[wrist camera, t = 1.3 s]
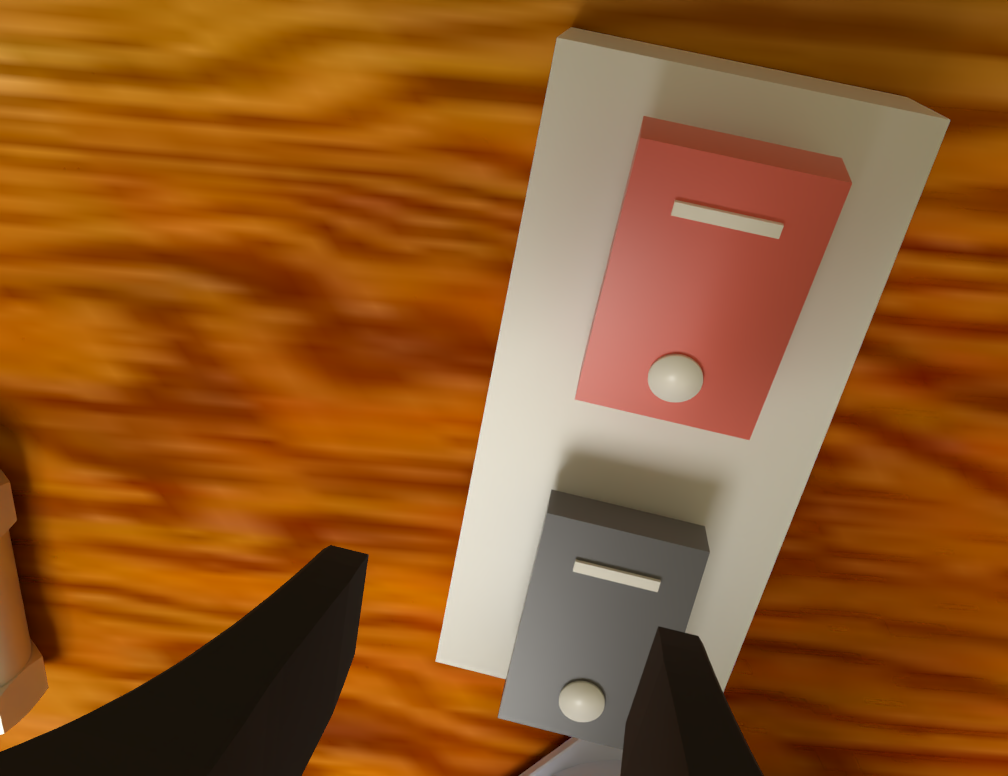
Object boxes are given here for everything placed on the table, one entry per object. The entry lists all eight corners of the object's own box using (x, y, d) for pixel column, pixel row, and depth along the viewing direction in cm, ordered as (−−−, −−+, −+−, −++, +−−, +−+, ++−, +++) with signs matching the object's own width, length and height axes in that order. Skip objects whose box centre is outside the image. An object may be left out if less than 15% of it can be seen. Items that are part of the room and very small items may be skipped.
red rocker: (643, 115, 15) (639, 139, 14) (841, 157, 15) (853, 184, 14) (581, 366, 18) (574, 402, 17) (746, 404, 18) (749, 443, 17)
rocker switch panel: (571, 26, 19) (556, 37, 16) (906, 97, 18) (950, 119, 15) (459, 587, 25) (435, 661, 23) (702, 648, 25) (708, 730, 22)
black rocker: (551, 489, 19) (547, 515, 18) (704, 526, 19) (710, 554, 18) (504, 685, 21) (497, 721, 20) (645, 720, 21) (646, 759, 20)
